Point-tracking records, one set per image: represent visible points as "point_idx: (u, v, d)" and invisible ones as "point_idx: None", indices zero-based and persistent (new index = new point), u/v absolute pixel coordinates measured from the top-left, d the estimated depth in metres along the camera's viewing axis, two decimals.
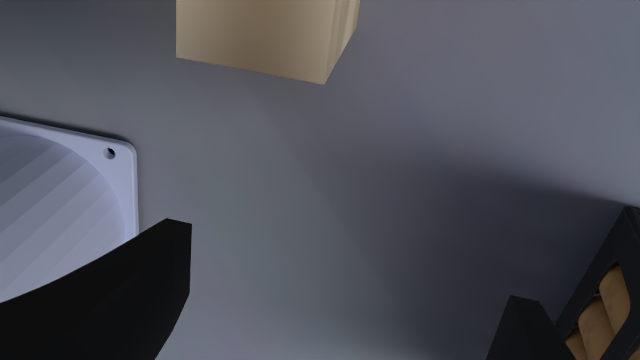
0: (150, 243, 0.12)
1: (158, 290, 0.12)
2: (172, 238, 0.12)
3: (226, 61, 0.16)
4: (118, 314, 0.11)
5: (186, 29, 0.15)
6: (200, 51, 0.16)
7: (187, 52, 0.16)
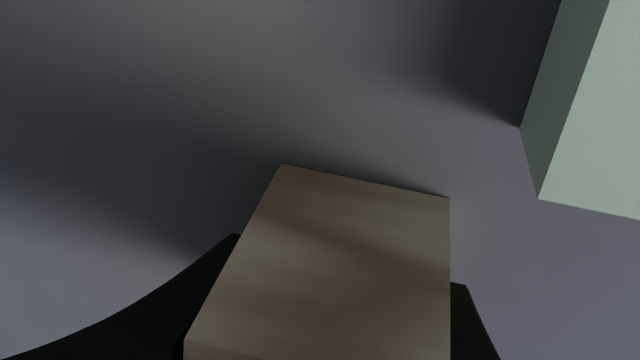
0: (224, 260, 0.12)
1: None
2: None
3: None
4: None
5: None
6: None
7: None
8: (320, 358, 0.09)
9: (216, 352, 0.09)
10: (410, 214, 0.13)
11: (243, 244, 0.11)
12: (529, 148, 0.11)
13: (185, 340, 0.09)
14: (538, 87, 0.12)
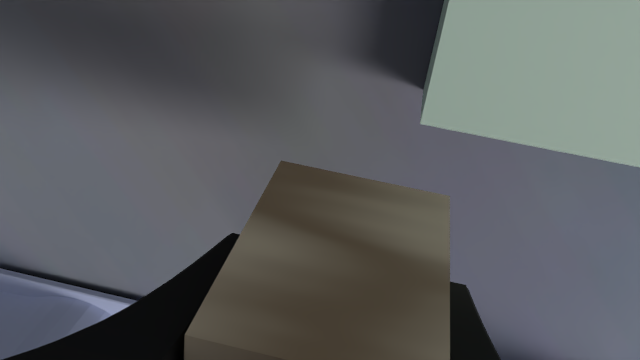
0: (224, 260, 0.12)
1: None
2: None
3: None
4: None
5: None
6: None
7: None
8: (320, 353, 0.09)
9: (217, 348, 0.09)
10: (410, 211, 0.13)
11: (243, 241, 0.11)
12: (423, 98, 0.19)
13: (186, 336, 0.09)
14: (430, 62, 0.19)
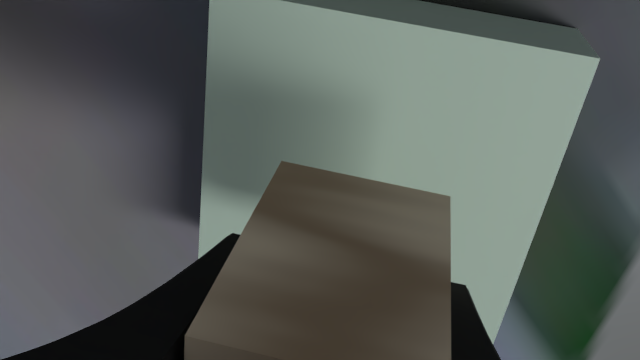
0: (223, 260, 0.12)
1: None
2: None
3: None
4: None
5: None
6: None
7: None
8: (321, 354, 0.09)
9: (217, 348, 0.09)
10: (410, 212, 0.13)
11: (243, 241, 0.11)
12: None
13: (186, 336, 0.09)
14: None
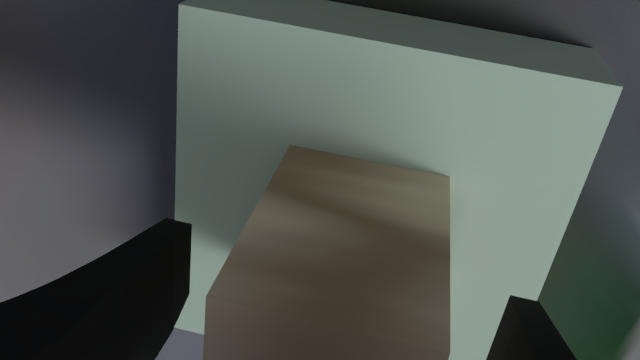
0: (150, 243, 0.12)
1: (158, 290, 0.12)
2: (172, 238, 0.12)
3: None
4: (118, 314, 0.11)
5: None
6: None
7: None
8: (331, 313, 0.10)
9: (235, 308, 0.10)
10: (412, 190, 0.14)
11: (256, 216, 0.12)
12: None
13: (207, 297, 0.10)
14: None
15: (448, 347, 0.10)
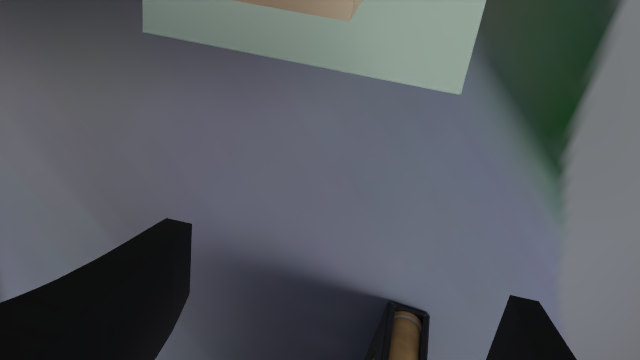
0: (150, 243, 0.12)
1: (158, 290, 0.12)
2: (172, 238, 0.12)
3: None
4: (118, 314, 0.11)
5: None
6: None
7: None
8: None
9: None
10: None
11: None
12: None
13: None
14: None
15: None
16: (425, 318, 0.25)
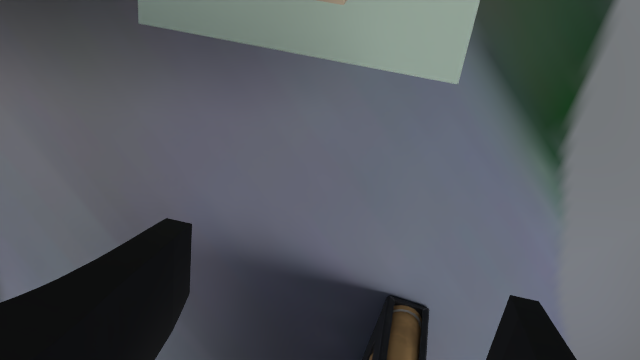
0: (150, 243, 0.12)
1: (158, 290, 0.12)
2: (172, 238, 0.12)
3: None
4: (118, 314, 0.11)
5: None
6: None
7: None
8: None
9: None
10: None
11: None
12: None
13: None
14: None
15: None
16: (425, 312, 0.25)
